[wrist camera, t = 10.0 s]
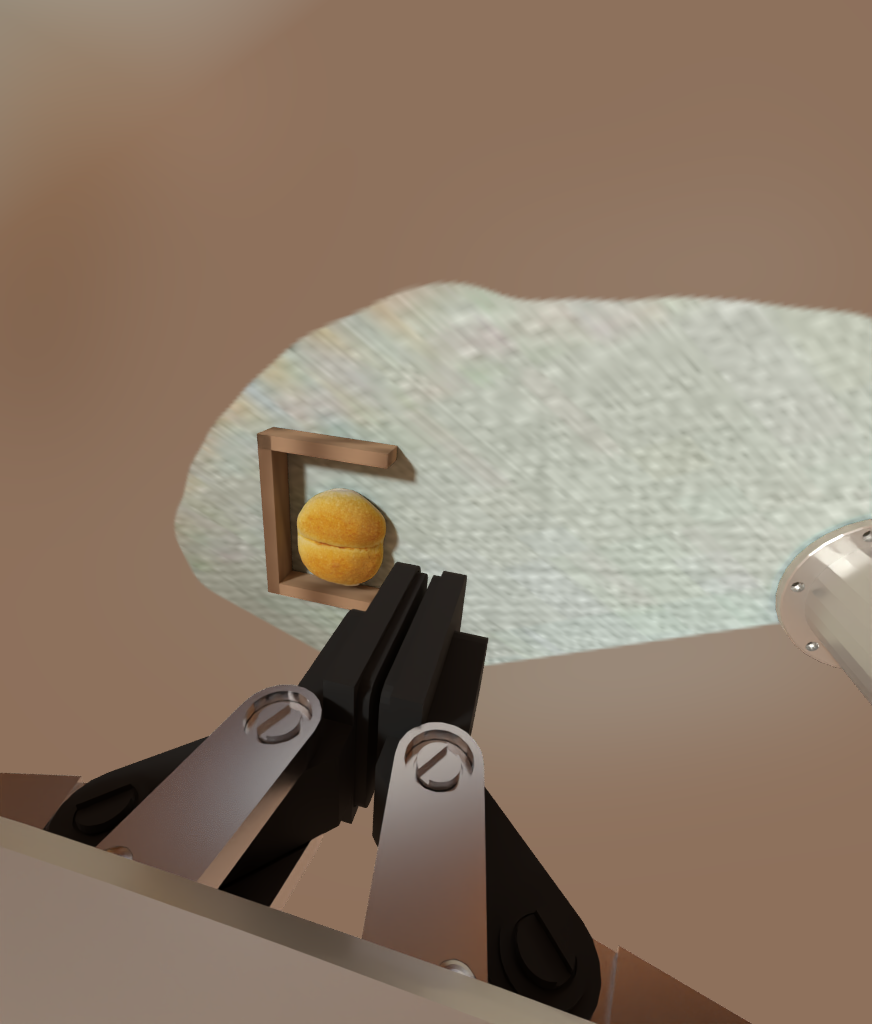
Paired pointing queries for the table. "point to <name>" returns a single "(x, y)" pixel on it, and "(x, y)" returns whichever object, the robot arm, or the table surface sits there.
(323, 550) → the bread roll
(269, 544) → the frame
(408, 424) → the table surface
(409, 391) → the table surface
